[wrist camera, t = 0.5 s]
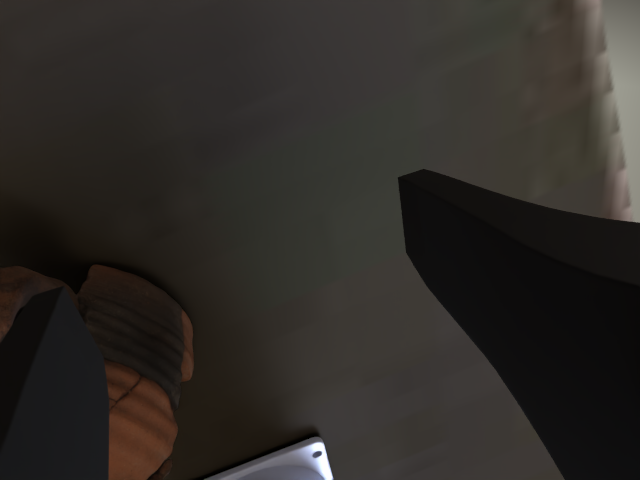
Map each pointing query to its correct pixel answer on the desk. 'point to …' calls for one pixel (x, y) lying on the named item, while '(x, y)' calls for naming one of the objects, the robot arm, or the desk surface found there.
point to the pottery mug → (124, 358)
